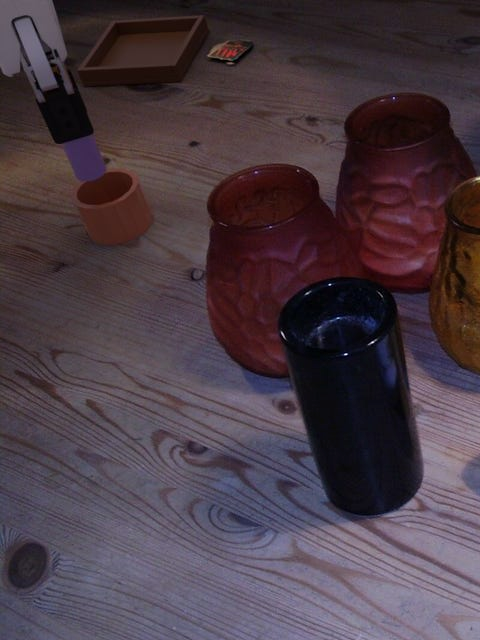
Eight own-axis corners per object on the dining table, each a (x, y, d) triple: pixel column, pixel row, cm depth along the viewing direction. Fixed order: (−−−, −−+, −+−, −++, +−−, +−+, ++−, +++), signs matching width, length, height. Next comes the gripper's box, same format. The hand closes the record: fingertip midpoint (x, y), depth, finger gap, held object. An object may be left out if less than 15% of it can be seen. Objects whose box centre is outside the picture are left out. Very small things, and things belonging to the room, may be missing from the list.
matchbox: (256, 41, 112) (255, 37, 112) (240, 65, 109) (239, 61, 109) (218, 41, 113) (216, 37, 113) (201, 65, 110) (199, 61, 110)
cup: (81, 250, 89) (61, 209, 85) (104, 209, 93) (85, 169, 89) (143, 248, 88) (125, 207, 85) (163, 207, 92) (146, 167, 89)
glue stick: (70, 182, 85) (22, 76, 78) (82, 164, 87) (36, 58, 80) (100, 181, 85) (55, 75, 77) (111, 163, 86) (68, 57, 79)
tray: (83, 86, 110) (76, 70, 108) (118, 36, 117) (112, 20, 116) (181, 82, 108) (175, 65, 107) (209, 31, 116) (204, 15, 114)
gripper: (-89, -123, 74) (15, 97, 87) (-78, -47, 63) (38, 192, 76) (14, -147, 76) (100, 73, 89) (41, -77, 65) (135, 161, 78)
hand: (71, 126), depth 82 cm, fingers closed on glue stick, 2 cm apart
